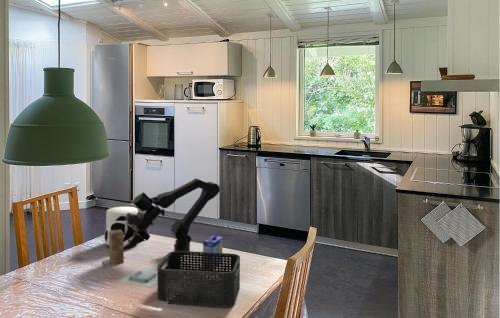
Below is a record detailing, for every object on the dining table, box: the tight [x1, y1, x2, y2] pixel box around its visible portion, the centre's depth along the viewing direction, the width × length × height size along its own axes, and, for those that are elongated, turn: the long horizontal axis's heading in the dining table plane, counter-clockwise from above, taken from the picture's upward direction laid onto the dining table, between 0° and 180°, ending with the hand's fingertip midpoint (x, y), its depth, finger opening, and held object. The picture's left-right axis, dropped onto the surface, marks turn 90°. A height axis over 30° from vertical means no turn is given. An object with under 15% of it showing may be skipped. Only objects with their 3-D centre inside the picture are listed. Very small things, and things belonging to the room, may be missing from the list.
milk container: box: [104, 206, 139, 248], centre depth 206 cm, size 17×17×18 cm
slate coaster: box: [102, 256, 126, 269], centre depth 182 cm, size 10×10×1 cm
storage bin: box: [156, 250, 241, 308], centre depth 153 cm, size 29×19×13 cm
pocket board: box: [118, 268, 158, 288], centre depth 166 cm, size 14×14×2 cm
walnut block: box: [108, 230, 125, 266], centre depth 181 cm, size 5×5×14 cm
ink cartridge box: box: [202, 233, 224, 265], centre depth 182 cm, size 10×6×14 cm, turn 158°
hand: (125, 244), depth 183 cm, fingers open, 9 cm apart
